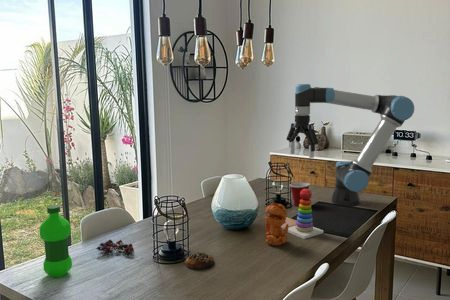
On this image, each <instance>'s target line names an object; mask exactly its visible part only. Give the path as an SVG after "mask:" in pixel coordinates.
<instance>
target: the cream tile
mask: <svg viewBox="0 0 450 300" xmlns="http://www.w3.org/2000/svg"><path fill="white" fill-rule="evenodd" d="M288 233H289V234H291V235H293V236H296V237H298V238H301V239H303V240H305V239H309V238H312V237H315V236H318V235H321V234H324V230H323V229H320V228H317V227H314V226H313V230H312V231H310V232H301V231H298V230H297V229H296V228H295V226H293V227H289V228H288V232H287V234H288Z"/></svg>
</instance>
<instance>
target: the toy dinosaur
mask: <svg viewBox="0 0 450 300" xmlns="http://www.w3.org/2000/svg"><path fill="white" fill-rule="evenodd" d="M265 212H266V214H268V215H266V216H264V218H263V219H264V221H266V223H265V225H264V226H265V227H264V228H265V230H266V231H267V232H266V233H265V234H264V239H265V244H267V243H269V244H270V245H271V246H281V245H283V244H285V243H287V240H288V235H287V234H288V227H289V226H288V224H287V225H286V227H285V230H282V227H281V226H282V225H283V224H284V223H286V222H285V220H286V217H288V215H289V214H288V213H287V209H286V207H285V205H283V204H281V203H275V202H273V201H272V202H271V204H269V205H267V206H266V208H265Z"/></svg>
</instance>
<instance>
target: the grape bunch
mask: <svg viewBox="0 0 450 300" xmlns="http://www.w3.org/2000/svg"><path fill="white" fill-rule="evenodd" d="M95 249H96V250H98V251H102V252H105V254H108V253H112V252H113V251H114V250H115V249H116V250H115V252H124V253H125V254H126V256H131V254H132V253H135V250H134V249H135V248H134V247H133V244H132V243H129V244H127V243H124V242H123V240H122V239H119V240H118V241H116V242H115V243H114V241H113V240H112V239H111V238H110V239H109V240H107V241H104V242H100V243H99V246H97V247H96V248H95Z"/></svg>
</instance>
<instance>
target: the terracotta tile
mask: <svg viewBox="0 0 450 300" xmlns="http://www.w3.org/2000/svg"><path fill="white" fill-rule="evenodd" d="M264 221H265V223H266V220H264ZM296 221H297V219H293V218H290V217H288V216H287V217H286V220H285V222H286V223H284V224H283V225H282V226H281V227H282V231H284V230H285V227H286V225H287V224H288V226H289V227H293V226H296ZM289 227H288V228H289Z"/></svg>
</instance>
